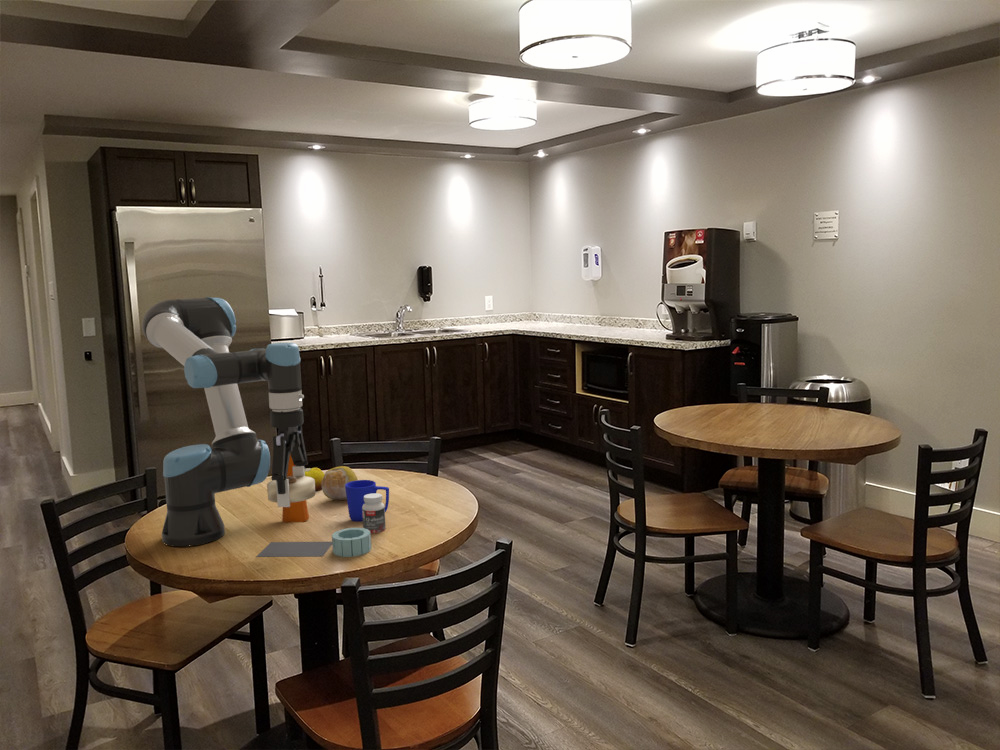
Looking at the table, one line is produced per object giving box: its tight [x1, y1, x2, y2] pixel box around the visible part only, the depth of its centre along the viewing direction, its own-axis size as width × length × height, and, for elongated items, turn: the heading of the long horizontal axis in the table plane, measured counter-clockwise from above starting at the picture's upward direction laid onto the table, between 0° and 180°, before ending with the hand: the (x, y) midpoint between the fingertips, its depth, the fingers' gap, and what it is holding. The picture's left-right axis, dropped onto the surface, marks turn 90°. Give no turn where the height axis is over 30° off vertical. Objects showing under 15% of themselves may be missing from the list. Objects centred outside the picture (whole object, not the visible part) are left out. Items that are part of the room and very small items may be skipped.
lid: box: [266, 476, 316, 504], centre depth 187 cm, size 11×11×5 cm
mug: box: [345, 479, 390, 523], centre depth 212 cm, size 8×12×10 cm
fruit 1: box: [304, 467, 325, 492], centre depth 246 cm, size 11×10×8 cm
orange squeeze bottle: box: [281, 454, 310, 523], centre depth 214 cm, size 7×11×26 cm, turn 14°
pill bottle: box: [362, 492, 387, 534], centre depth 201 cm, size 6×6×10 cm
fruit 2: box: [321, 465, 358, 501], centre depth 232 cm, size 10×11×10 cm
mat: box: [255, 541, 332, 558], centre depth 189 cm, size 16×10×1 cm, turn 86°
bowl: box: [331, 527, 372, 558], centre depth 187 cm, size 9×9×5 cm
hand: (292, 499), depth 187 cm, fingers closed on lid, 11 cm apart
